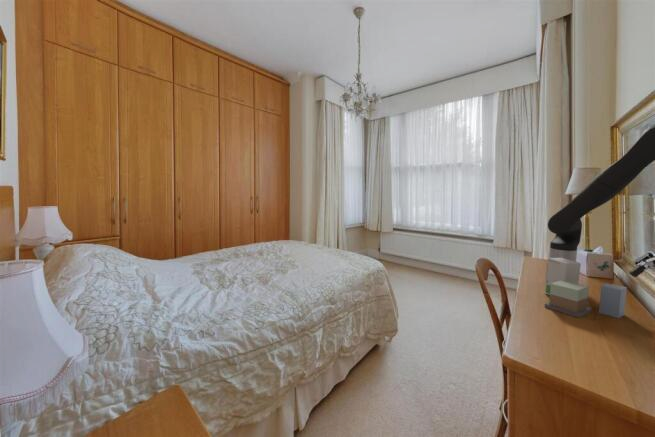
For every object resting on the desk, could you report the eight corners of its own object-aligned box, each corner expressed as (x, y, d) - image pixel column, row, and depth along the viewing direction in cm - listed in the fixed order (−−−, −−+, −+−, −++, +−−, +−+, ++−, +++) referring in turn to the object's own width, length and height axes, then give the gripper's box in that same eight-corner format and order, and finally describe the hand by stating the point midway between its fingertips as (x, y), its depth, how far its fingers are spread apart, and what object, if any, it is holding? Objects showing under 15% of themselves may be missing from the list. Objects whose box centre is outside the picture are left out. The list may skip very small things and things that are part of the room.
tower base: (544, 306, 101) (546, 283, 100) (557, 301, 106) (559, 278, 105) (578, 317, 92) (580, 291, 91) (591, 311, 97) (593, 286, 96)
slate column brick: (598, 312, 96) (601, 285, 95) (604, 309, 98) (607, 283, 97) (618, 318, 91) (621, 290, 90) (624, 315, 94) (626, 287, 93)
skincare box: (544, 293, 114) (546, 257, 112) (558, 292, 115) (560, 257, 113) (563, 301, 106) (566, 263, 104) (578, 300, 106) (581, 262, 105)
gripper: (656, 235, 97) (617, 265, 99) (705, 242, 83) (657, 277, 85) (672, 250, 96) (632, 280, 99) (724, 260, 82) (675, 294, 85)
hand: (644, 279), depth 92 cm, fingers open, 8 cm apart
